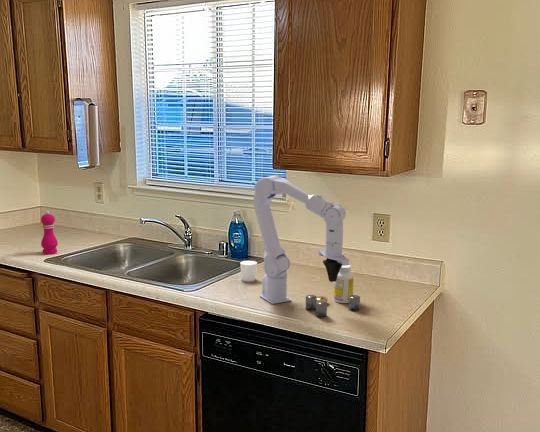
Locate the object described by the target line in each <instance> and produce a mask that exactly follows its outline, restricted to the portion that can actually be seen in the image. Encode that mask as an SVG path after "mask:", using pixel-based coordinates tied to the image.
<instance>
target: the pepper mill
mask: <svg viewBox="0 0 540 432" xmlns="http://www.w3.org/2000/svg"><path fill="white" fill-rule="evenodd" d="M55 221H56V217H55V216H54V215H53V214H51V213H50V211H49V210H46V211H45V213H44V215H42V216H41V217H40V222H41V224H42V225H41V226H42V229H43V236H42V239H41V242H40V246H41V247H42V248H43V249H42V254H43V255H50V256H51V255H55V254H57V253H58V249H57V246H58V245H59V242H58V239H57V238H56V235H55V234H54V228H55Z"/></svg>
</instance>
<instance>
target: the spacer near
mask: <svg viewBox="0 0 540 432" xmlns="http://www.w3.org/2000/svg"><path fill="white" fill-rule="evenodd" d="M316 300H317V295H315V294H306V295H305V310H306V311H308V312H316Z"/></svg>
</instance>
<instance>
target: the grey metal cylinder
mask: <svg viewBox="0 0 540 432" xmlns="http://www.w3.org/2000/svg"><path fill="white" fill-rule="evenodd" d="M360 306H361V296H360V295H356V294H353V295H351V296H349V303H348V310H349V311H351V312H359V311H360V309H361V307H360Z"/></svg>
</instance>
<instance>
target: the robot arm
mask: <svg viewBox="0 0 540 432" xmlns="http://www.w3.org/2000/svg"><path fill="white" fill-rule="evenodd" d="M282 194H285V195H286V196H287V195H288V196H289V197H291V198H293V199H295V200H297V201H299V202H301V203H303V204H304V205H305V207H306V210H308V211H310V212H312V213H313V214H315V215H317V216H319V217H320V218H322V219H323V221H324V222H325V241H324V242H325V243H324V245H325V246H324V249H320V250H318V256H319V257H324V258H326V259H325V260H322V263H323V265H324V268H325V270H326V273H327V277H328V281H329V282H331V283H333V282H334V281H336V280H337V276H338V273H339V271H340V269H341V267H342V265H343V266H345V265H350V258H349V259H348V258H347V257H346V256H345V253H344V252H343V240H344V238H343V237H344V221H343V220H345V219H346V215H347V214H346V210H345V208H344V207H343V206H342V205H341V204H335V202H333V201H329V200H326V199H325V198H323V197H322V196H323V195H322V194H319V193H318V194H316V193H313V194H309V193H307V192H306V191H304V190H302V189H301V188H300V187H298V186H296V185H295V184H293V183H291V182H290V181H288V180H287V179H286V178H283V177H282V176H280V175H277V174H272V175H271V176H265V177H261V178H260V179H258V180H257V181H256V183H255V185H254V195H253V200H252V201H253V203H252V204H253V208H254V211H255V215H256V219H257V222H258V223H257V224H258V225H259V231H260V234H261V238H262V241H263V242H262V243H263V245H264V250H265V252H264V255H263V272H264V273H265V274H264V275H263V277H262V279H261V294H259V297H261V298H262V299H264V300H265V301H267V302H268V303H270V304H271V305H274V304H280V303H286V302H291V301H292V298H290V297H289V296H287V295H288V291H287V288H288V284H287V283H288V273H287V271H288V270H289V268H290V266H291V261H290V258H289V257H288V256H287V254H286V252H285V249H284V248H282V247H281V245H280V240H279V237H278V232H277V229H276V224H275V221H274V218H273V213H272V209H271V204H270V203H271V202H272V201H273V199H274V198H275V196H276V195H282Z"/></svg>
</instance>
